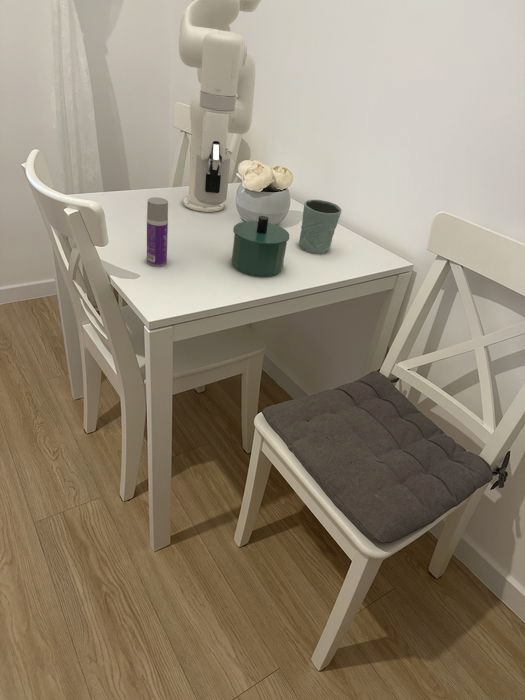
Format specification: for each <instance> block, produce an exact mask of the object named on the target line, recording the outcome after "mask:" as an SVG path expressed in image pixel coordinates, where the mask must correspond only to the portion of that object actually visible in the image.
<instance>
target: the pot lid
mask: <svg viewBox="0 0 525 700" xmlns="http://www.w3.org/2000/svg"><path fill="white" fill-rule="evenodd" d="M269 219H270V218H269V217H268V216H266V215H259V216H258V218H257V220H247V221H241V222H238V223H236V224H234V226H233V228H232V229H233V234H235V235H236V236H237V237H239V238H241V239H243V240H245V241H248V242H251V243H255V244H260V245H279V244H283V243H285V242H287V243H288V241H289V239H290V233H289V232H288V231H287V229H285V228H283V226H282V227H281V226H280V225H277V224H275V223H271V222H269Z"/></svg>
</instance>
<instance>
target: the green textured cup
mask: <svg viewBox="0 0 525 700" xmlns="http://www.w3.org/2000/svg"><path fill="white" fill-rule="evenodd" d="M341 215H342V208H341V206H339V205H337V204H336V203H333V202H331V201H329V200H323V199H308V200H306V201H304V204H303V211H302V220H301V221H302V222H301V226H300V234H299V239H298V248H299V249H301V250H302V251H304V252H306V253H310V254H313V255H324V254H327V253H329V251H330V248H331V245H332V242H333V238H334V235H335V231H336V228H337V226H338V223H339V219H340V217H341Z"/></svg>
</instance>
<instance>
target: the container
mask: <svg viewBox="0 0 525 700" xmlns="http://www.w3.org/2000/svg"><path fill="white" fill-rule="evenodd" d="M146 208H147V209H146V264H147V265H149V266H151V267H156V268H158V267H159V268H160V267H164V266H167V263H168V262H167V261H168V232H169V200H168V199H166V198H163V197H158V196H157V197H150V198H149V197H148V199H147V207H146Z"/></svg>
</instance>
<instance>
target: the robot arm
mask: <svg viewBox="0 0 525 700" xmlns="http://www.w3.org/2000/svg"><path fill="white" fill-rule="evenodd" d="M261 2H262V0H192V2H190V3H189V4H188V5H187V6H186V7H185V9H184V11H183V12H182V16H181V18H180V24H179V36H178V55H179V57H180V60H181V61H182V63H183V64H184V65H185V66H187V67H190V68H196V73H197V80H198V83H199V84H200V91H199V92H198V93H197V94H194V95H193V96H192V98H191V99H190V103H189V116H190V130H191V131H190V132H191V134H190V135H191V136H190V138H191V139H190V162H189V178H188V179H189V180H188V195H187V196H185V197H184V198H183V201H182V204H183V205H184V207H186V208H188V209H190V210H193V211H197V212H201V213H214V212H215V213H216V212H219V211H222V210H223V209H224V206H225V203H224V202H223V203H222V204H219V205H208V204H204V203H201V202H199V201H198V200H197V199H196V198H195V196H194V191H195V174H196V156H197V152H198V151H199V150H200V149H201V158H202V160H203V161H205V159H207V160H208V172H207V173H206V183H205V192H210V193H219V192H220V180H221V175H220V170H221V162H223V161H224V157H225V150H226V148H227V142H228V141H227V140H228V134H229V133H230V134H239V135H244V134H247V133H248V132H249V131H250V128H251V126H252V120H253V109H254V95H255V84H256V83H255V82H256V64H255V60H254V58H253V57H252V56H251V55H250V54H248V53H247V51H248V47H247V45H248V44H247V43H246V41H245V39H244V37H243V36H242V35H241V34H239V33H237V32H233V31H231V27H230V25H232V24H233V23H234V22H235V20H237V18H238V16H239V13H240V12H243V13H252V12H254V11H256V9H257V8H258V6H259V5H260V3H261ZM200 146H201V148H200ZM212 146H213V149H212ZM210 156H213V159H210ZM221 156H222V159H221ZM211 163H212V164H211ZM210 164H211V165H210Z"/></svg>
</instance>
